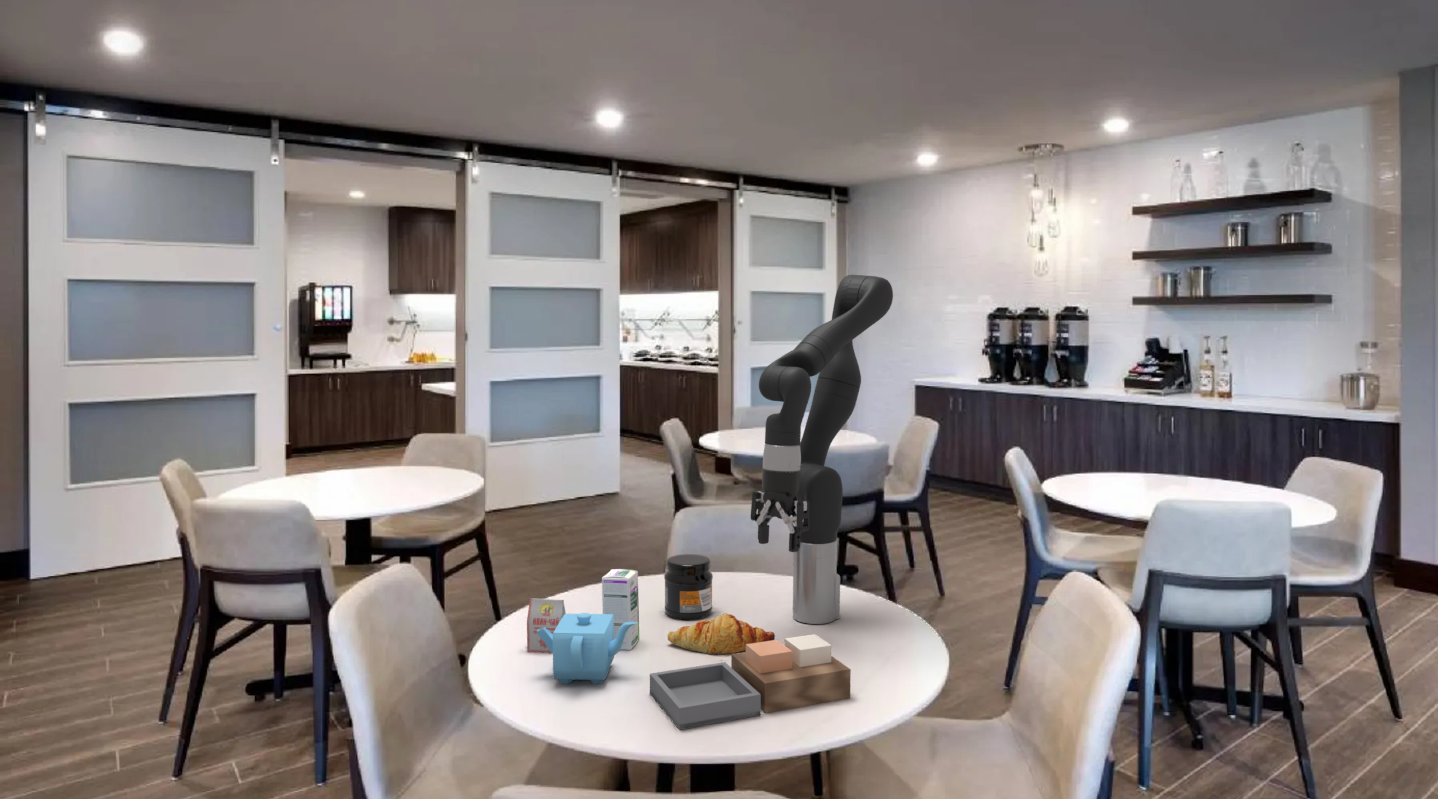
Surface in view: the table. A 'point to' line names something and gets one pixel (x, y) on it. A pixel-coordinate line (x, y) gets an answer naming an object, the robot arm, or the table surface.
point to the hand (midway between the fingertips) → (778, 547)
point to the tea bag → (542, 621)
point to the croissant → (719, 635)
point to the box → (704, 695)
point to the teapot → (584, 646)
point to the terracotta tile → (769, 656)
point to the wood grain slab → (796, 683)
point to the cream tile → (809, 650)
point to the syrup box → (622, 602)
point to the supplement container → (688, 587)
